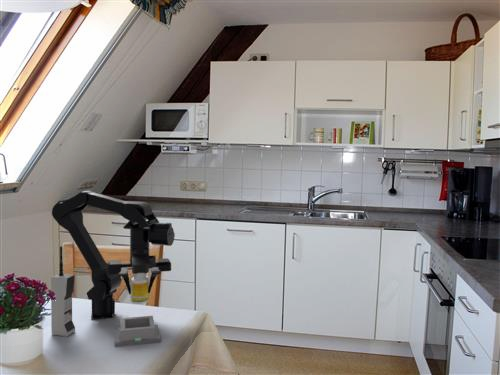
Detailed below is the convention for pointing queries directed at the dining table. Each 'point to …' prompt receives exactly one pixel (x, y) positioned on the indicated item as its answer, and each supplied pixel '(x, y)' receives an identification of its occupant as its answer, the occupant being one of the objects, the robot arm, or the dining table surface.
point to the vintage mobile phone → (62, 302)
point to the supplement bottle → (139, 288)
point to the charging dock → (137, 331)
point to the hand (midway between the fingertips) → (139, 293)
